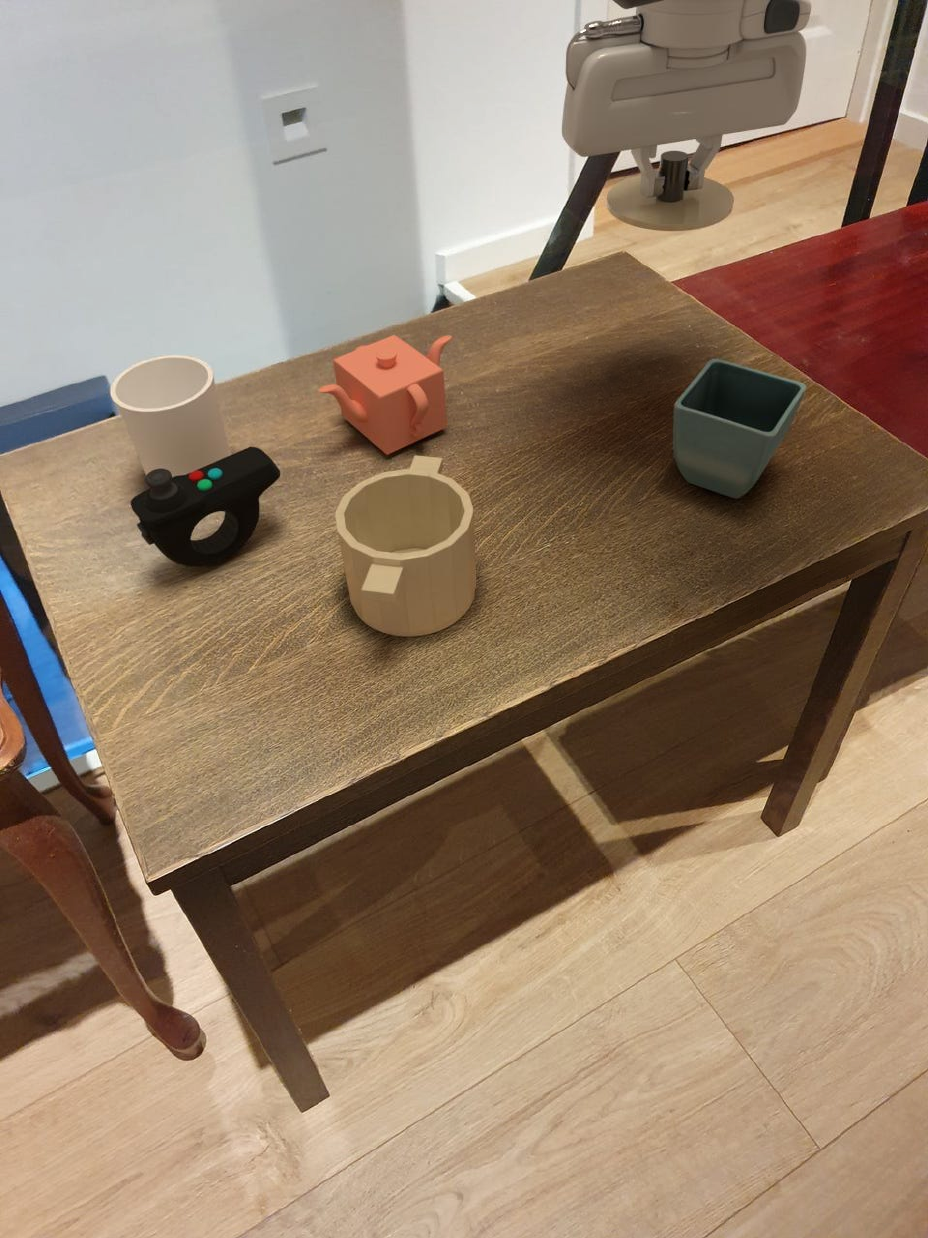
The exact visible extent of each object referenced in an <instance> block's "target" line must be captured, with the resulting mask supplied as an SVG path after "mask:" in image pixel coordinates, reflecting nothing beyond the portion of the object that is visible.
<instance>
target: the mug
mask: <svg viewBox="0 0 928 1238" xmlns="http://www.w3.org/2000/svg"><path fill="white" fill-rule="evenodd" d="M110 397H111V399H112V401H113V403H114V405H115V408H116V409H117V411H118V413H119V415H120V418H121V420H122V421H123V423H124V425H125V429H126V431H127V433H128V435H129V437H130V441H131V442H132V444H133V446H134V450H135V452H136V454H137V457H138V459H139V461H140V464H141V467H142V469H143V471H144V474H145V476H146V475H147V474H148V473H149V472H151V471H152V470H155V469H166V470H169V471H170V472H171V474H172V478H173V477H175V476H179V475H186V474H188V473H191V472H193V471H195V470H198V469H200V468H202V467H205V466H207V465H209V464H212V463H214V462H216V461H218V460H221V459H223V458H225V457H228V456H230V455H232V454H233V453H232V451H231V447H230V443H229V438H228V435H227V431H226V428H225V423H224V418H223V415H222V411H221V407H220V404H219V399H218V394H217V387H216V383H215V377H214V372H213V369H212V368H211V366H210V365H209V364H208V363H207V362H206V361H204V360H203V359H200V358H197V357H194V356H190V355H181V354H175V355H174V354H172V355H171V354H170V355H163V356H162V355H161V356H156V357H152V358H149V359H146V360H140V361H137V362H135V363H134V364H132V365H131V366H129V367H127V368H126V369H125V370H123V371H121V372H120V374H118V375H117V376H116V378H115V379H114V380H113V382H112V384H111V386H110Z"/></svg>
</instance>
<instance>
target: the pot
mask: <svg viewBox="0 0 928 1238" xmlns="http://www.w3.org/2000/svg"><path fill="white" fill-rule="evenodd" d="M443 460H444V459H443V458H442V457H437V456H427V455H414V456H413V458H412V461H411V464H410V466H409V468H403V469H397V470H389V471H383V472H380V473H378V474H376V475H373V476H371V477H369V478H366V479H363V480H362V481H360V482H358V483H357V484H356V485H354V487H352V488H351V489H350V490H348V491H347V492H346V493H345V494H344V495H343V496H342V498H341V499H340V502H339V504H338V506H337V508H336V510H335V512H334V517H335V518H334V519H335V524H336V525H335V526H336V531H337V532H336V533H337V537H338V542H339V547H340V553H341V557H342V558H341V559H342V564H343V568H344V574H345V579H346V584H347V590H348V594H349V600H350V604H351V606H352V608H353V610H354V612H355V614H356V615H357V617H358V618H359V619H360V620H361V621H362V622H363V623H364V624H366V625H367V626H368V627H370V628H372V629H373V630H376V631H378V632H380V633H382V634H387V635H390V636H396V637H405V638H406V637H421V636H426V635H431V634H434V633H437V632H440V631H443V630H445V629H447V628H449V627H450V626H452V625H453V624H455V623H456V622H458V621H459V620H460V619H461V618H462V617H463V616H464V615H466V613H467V612H468V611H469V610H470V607H471V606H472V604H473V602H474V600H475V596H476V586H477V559H476V535H475V533H476V532H475V511H474V507H473V503H472V500H471V497H470V494H469V493H468V492H467V490H465V489H464V488H463V487H462V486H461V485H460V484H459V483H458V482H457V481H456V480H455V479H453V478H450V477H448V476H445V475H443V474H442V472H443V469H444V461H443Z"/></svg>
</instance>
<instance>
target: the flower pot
mask: <svg viewBox="0 0 928 1238" xmlns="http://www.w3.org/2000/svg"><path fill="white" fill-rule="evenodd" d="M806 391H807V385H806V384H805V383H804V382H800V381H798V380H794V379H791V378H786V377H784V376H779V375H775V374H772V373H770V372H765V371H762V370H759V369H755V368H751V367H748V366H745V365H741V364H738V363H734V362H731V361H728V360H724V359H720V358H712V359H709V360H708V362H706V364H705V365H704V367H703V368H702V369H701V370H700V372H699V373H698V374H697V376H696V377H695V378H694V379H693V381H692V382H691V383H690V384H689V386H688V387H687V388H686V389H685V390H684V391H683V392H682V393H681V395H680V396H679V397H678V398H677V400H676V401H675V402H674V405H673V424H672V425H673V426H672V450H673V451H672V452H673V457H674V460H675V464H676V467H677V468H678V470H679V472H680V473H681V475H682V477H683V478H684V479H685V481H686V483H688V484H691V485H694V486H697V487H700V488H701V489H705V490H708V491H711V492H713V493H716V494H720V495H722V496H725V497H728V498H731V499H734V500H735V499H736V500H739V499H740V498H741V497H743V496H744V495H746V494H747V493H748V492H749V491H750V490H751V489H752V488H753V487H754V486H755V484H756V483H757V481H758V480H759V478H760V477H761V476H762V473H763V472H764V470H765V469H766V467H767V466H768V464H769V462H770V461H771V459H772V458H773V456H774V455H775V453H776V452H777V450H778V449H779V447H780V446H781V444H782V443H783V441H784V439H785V437H786V436H787V434H788V432H789V430H790V428H791V426H792V423H793V421H794V419H795V416H796V414H797V412H798V410H799V407H800V405H801V402H802V400H803V399H804V395H805V392H806Z"/></svg>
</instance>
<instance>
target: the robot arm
mask: <svg viewBox="0 0 928 1238" xmlns="http://www.w3.org/2000/svg"><path fill="white" fill-rule="evenodd" d="M612 1H613V2H614V4H616V5H617V6H619V7H620V8H622V9H624V10H631V9H634V8H635V15H630V16H623V17H618V18H615V19H611V20H605V21H603V20H594V21H591V22H588V23H586V24H585V25H584V26H583V29H580V30H579V31H578V32H577V33H575V34H574V35H573V36H572V38H571V39H570V41H569V42H568V44H567V46H566V50H565V51H566V52H565V79H566V81H567V84H566V89H565V95H564V102H563V108H562V120H561V136H562V138H563V140H564V142H565V143H566V144H567V146H568V147H569V148H570V149H571V150H572V151H573V152H574V153H576V155H578V156H580V157H581V158H588V157H593V156H600V155H605V154H607V155H608V154H612V153H619V152H624V151H630V153H631V155H632V157H633V159H634V162H635V164H636V165H637V168H638V170H639V172H640V175H641V182H640V191H641V194H642V195H643V196H644V197H645V198H651V197H655V196H660V195H662V194H663V191H664V189H663V185H664V182H665V176H664V175H663V174H662V173H660V171H659V169H658V168H654V167H653V165H652V162H651V159H655V158H656V157H657V150H658V146H663V145H667V144H673V143H679V142H687V141H692V140H695V141H696V142H697V143H698V147H697V148H696V150H695V152H694V154H693V155H692V157H691V159H690V161H689V162H688V168H687V175H686V183H685V191H691V190H697V189H701V188H702V186H703V181H704V177H705V175H706V170H707V169H708V167H710V165H711V163H712V161H713V160H714V158H715V157H716V155H717V154H718V152H719V151H720V150H721V148H722V141H723V136H724V135H730V134H735V133H743V132H748V131H749V132H750V131H755V130H760V129H766V128H767V129H768V128H774V127H779V126H784V125H786V124H787V123H788V122H789V121H790V120H791V118H792V117H793V115H795V113H796V111H797V109H798V107H799V103H800V99H801V93H802V89H803V83H804V78H805V77H804V76H805V70H806V61H807V44H806V43H807V42H806V40H805V37H804V35H803V34H802V33H801V32H800V31H803V30H804V29H805V28H806V27H807V25H808V23H809V21H810V17H811V12H812V2H811V0H612ZM582 37H584V38H582Z"/></svg>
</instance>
